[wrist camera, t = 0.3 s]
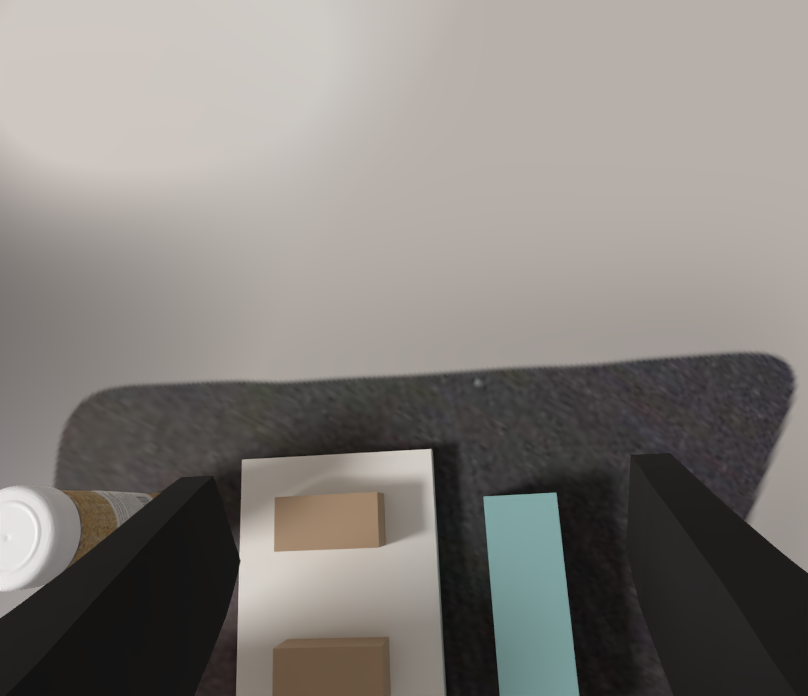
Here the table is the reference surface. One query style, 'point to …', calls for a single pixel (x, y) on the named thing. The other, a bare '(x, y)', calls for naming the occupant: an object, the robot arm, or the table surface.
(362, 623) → the display stand
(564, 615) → the teal bar
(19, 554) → the sprinkles bottle
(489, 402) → the table surface
